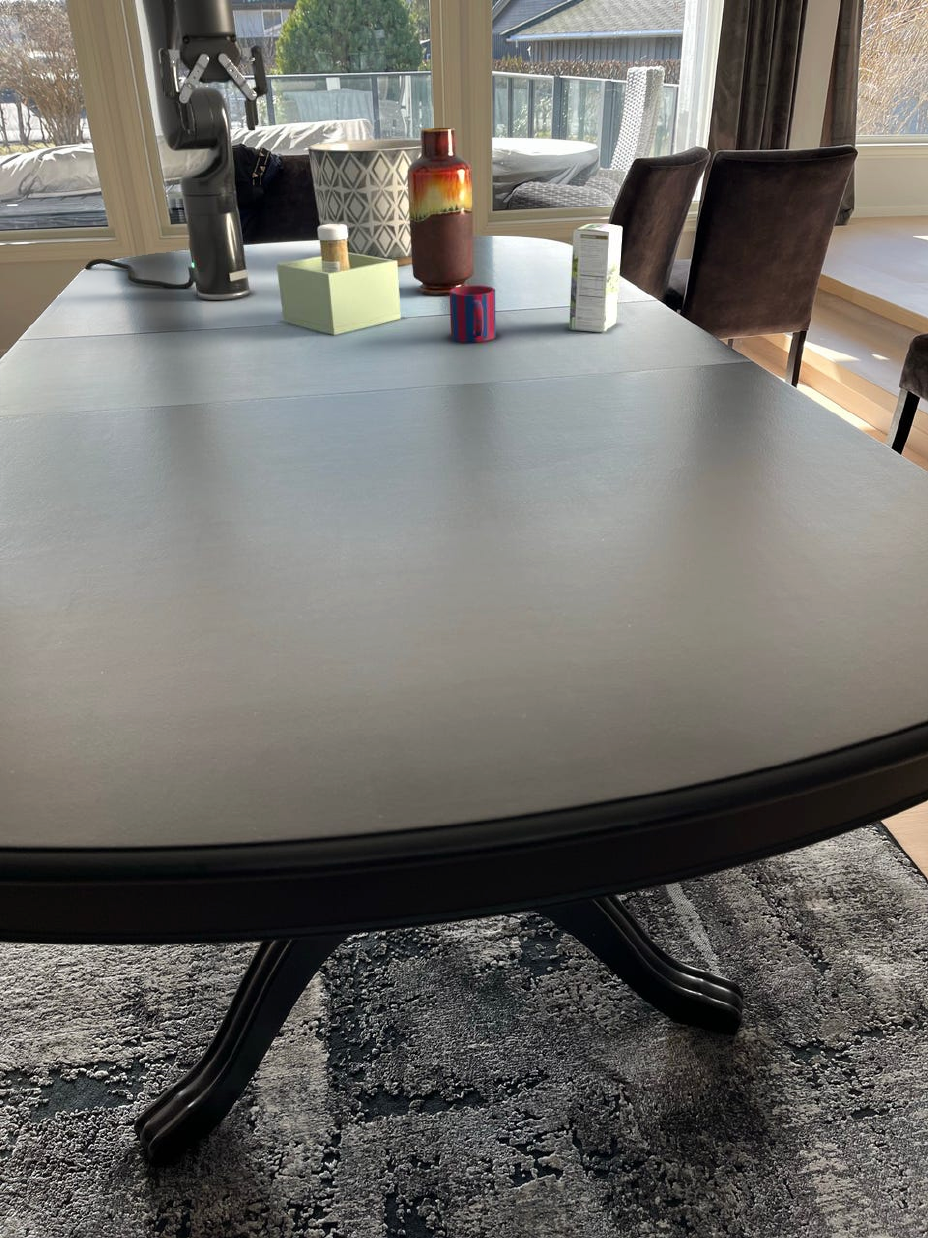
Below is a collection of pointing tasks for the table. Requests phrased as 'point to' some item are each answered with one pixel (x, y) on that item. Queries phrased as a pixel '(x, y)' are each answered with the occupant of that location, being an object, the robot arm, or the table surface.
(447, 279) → the vase
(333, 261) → the sprinkles bottle
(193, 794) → the table surface
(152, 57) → the robot arm
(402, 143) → the planter
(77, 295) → the table surface
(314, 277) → the open storage bin
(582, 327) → the syrup box
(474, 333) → the mug
